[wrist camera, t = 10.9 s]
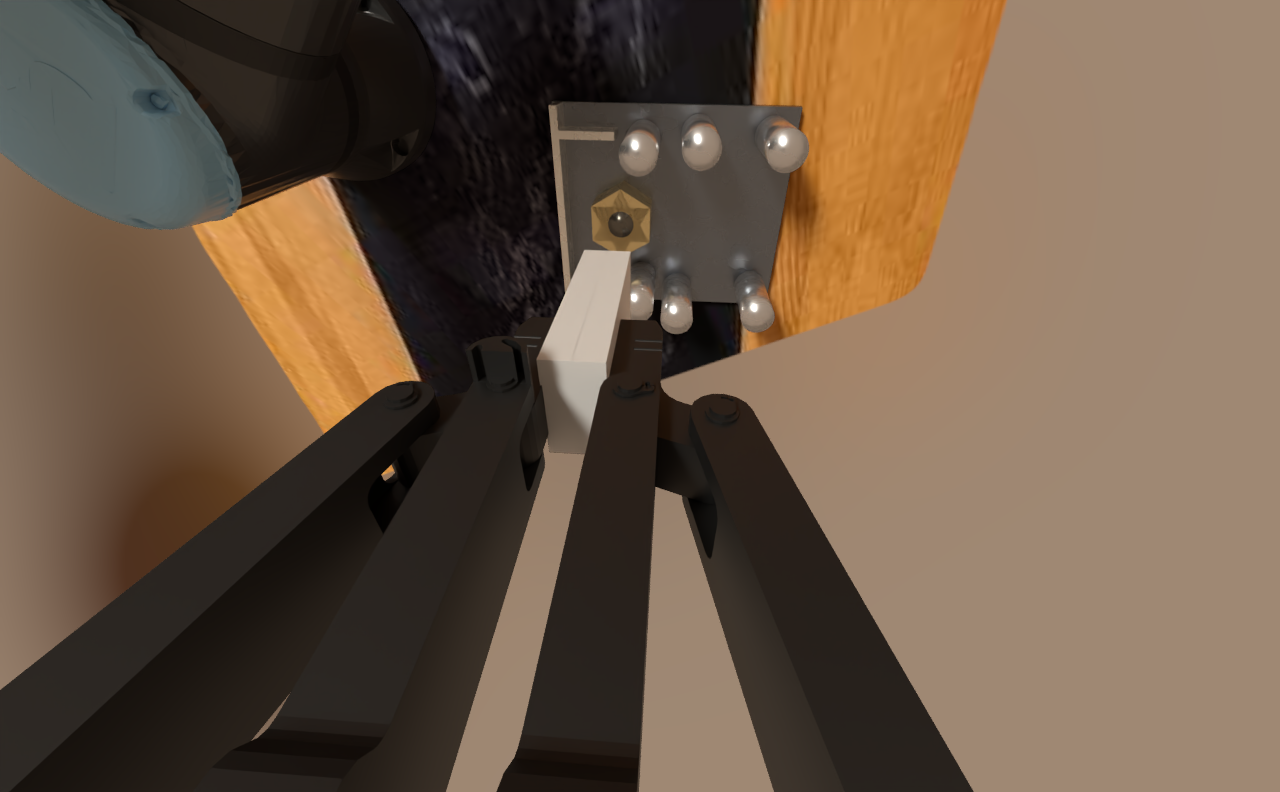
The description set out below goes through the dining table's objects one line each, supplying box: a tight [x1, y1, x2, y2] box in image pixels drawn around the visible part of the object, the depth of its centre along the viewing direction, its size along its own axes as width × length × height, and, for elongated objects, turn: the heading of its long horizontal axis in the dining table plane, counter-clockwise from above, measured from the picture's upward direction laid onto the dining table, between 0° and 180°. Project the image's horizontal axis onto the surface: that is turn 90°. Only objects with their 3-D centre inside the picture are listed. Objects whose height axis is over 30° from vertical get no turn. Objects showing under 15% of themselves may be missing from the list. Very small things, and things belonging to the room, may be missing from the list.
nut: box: [591, 181, 652, 252], centre depth 42 cm, size 5×6×3 cm
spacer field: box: [549, 101, 809, 334], centre depth 41 cm, size 20×17×8 cm
